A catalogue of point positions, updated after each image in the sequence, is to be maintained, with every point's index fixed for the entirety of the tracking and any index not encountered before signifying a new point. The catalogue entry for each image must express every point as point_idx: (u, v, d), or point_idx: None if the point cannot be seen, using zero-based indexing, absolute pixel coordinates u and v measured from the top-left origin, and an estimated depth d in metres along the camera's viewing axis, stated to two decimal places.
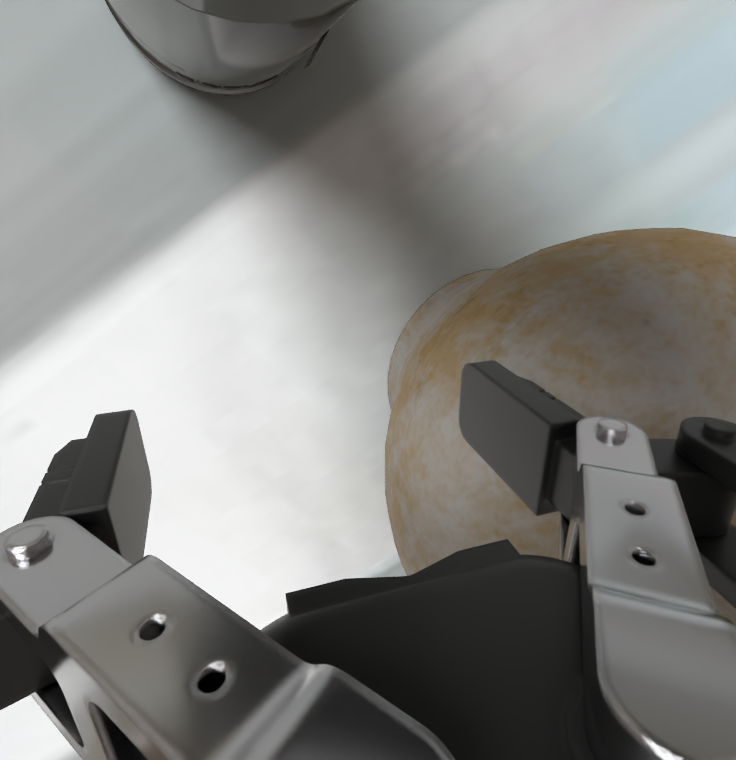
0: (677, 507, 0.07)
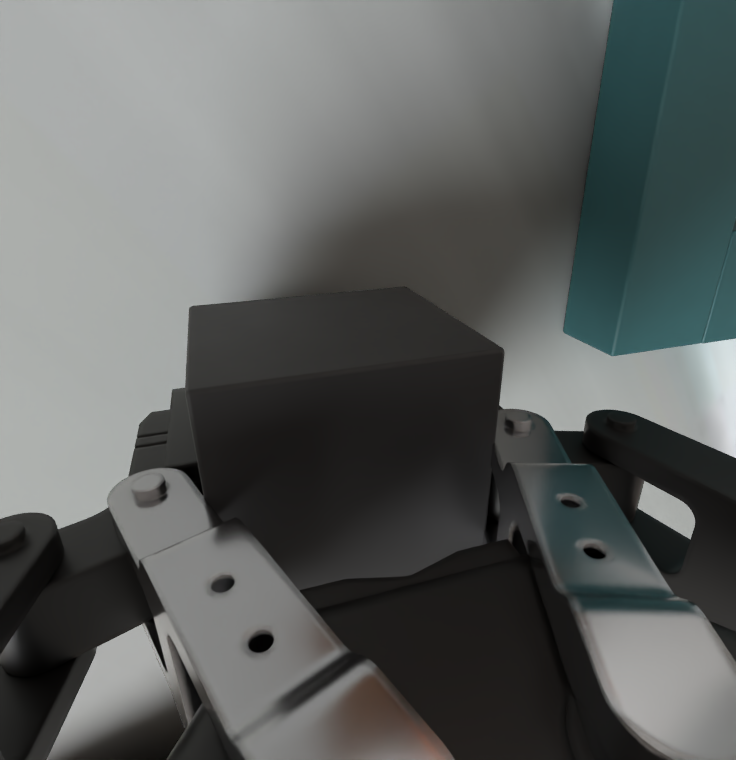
0: (604, 493, 0.07)
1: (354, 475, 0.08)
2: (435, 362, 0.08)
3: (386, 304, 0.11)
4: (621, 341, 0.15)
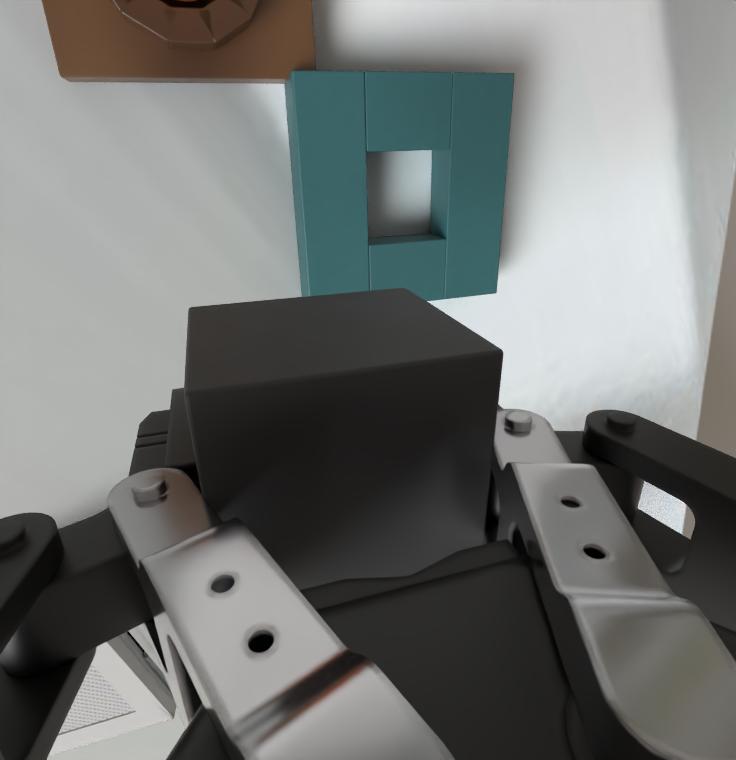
0: (604, 492, 0.07)
1: (353, 476, 0.08)
2: (434, 363, 0.08)
3: (385, 305, 0.11)
4: None
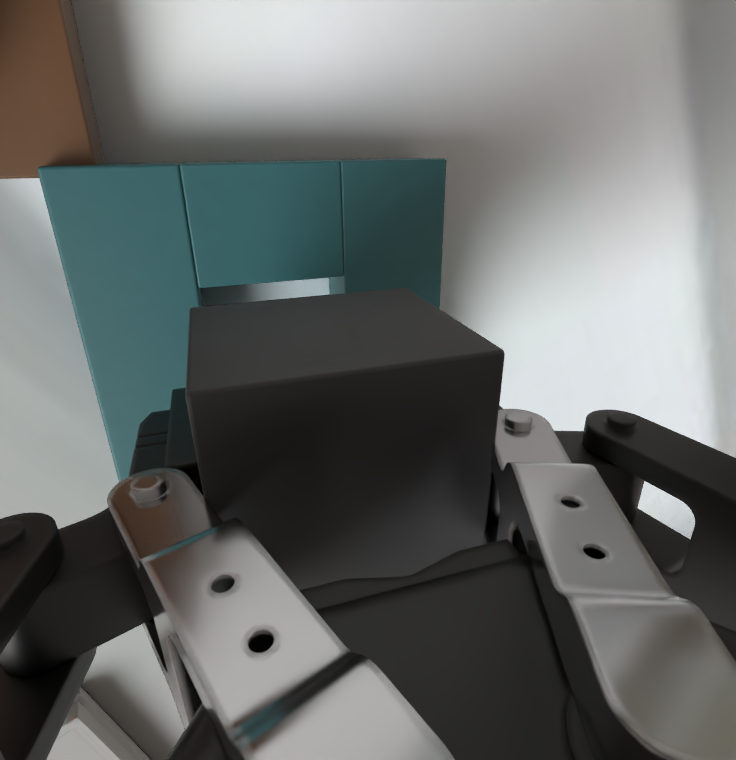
0: (604, 492, 0.07)
1: (354, 476, 0.08)
2: (436, 363, 0.08)
3: (385, 305, 0.11)
4: None
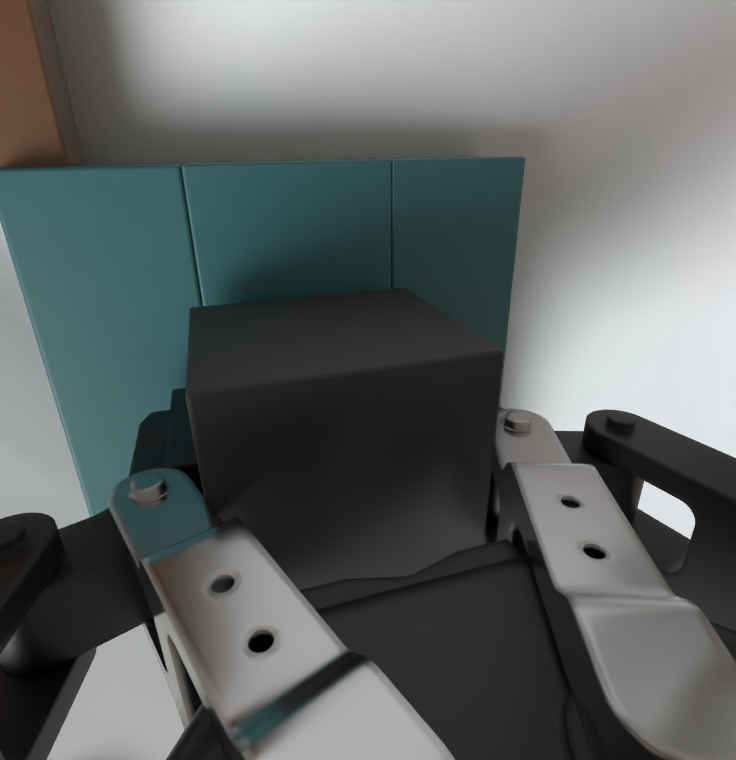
0: (604, 492, 0.07)
1: (354, 476, 0.08)
2: (436, 362, 0.08)
3: (386, 305, 0.11)
4: None
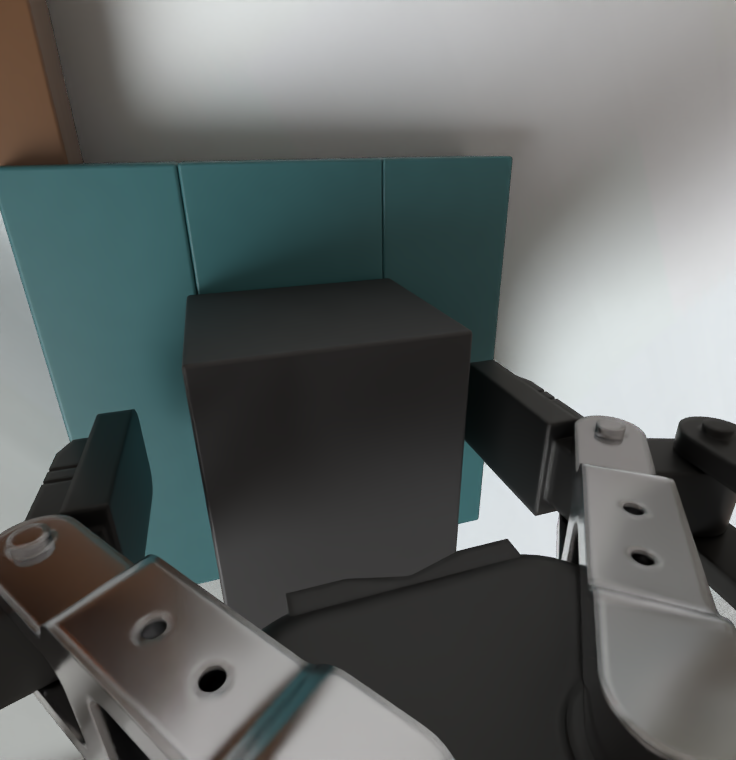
0: (676, 507, 0.07)
1: (335, 446, 0.09)
2: (408, 342, 0.09)
3: (369, 293, 0.11)
4: None
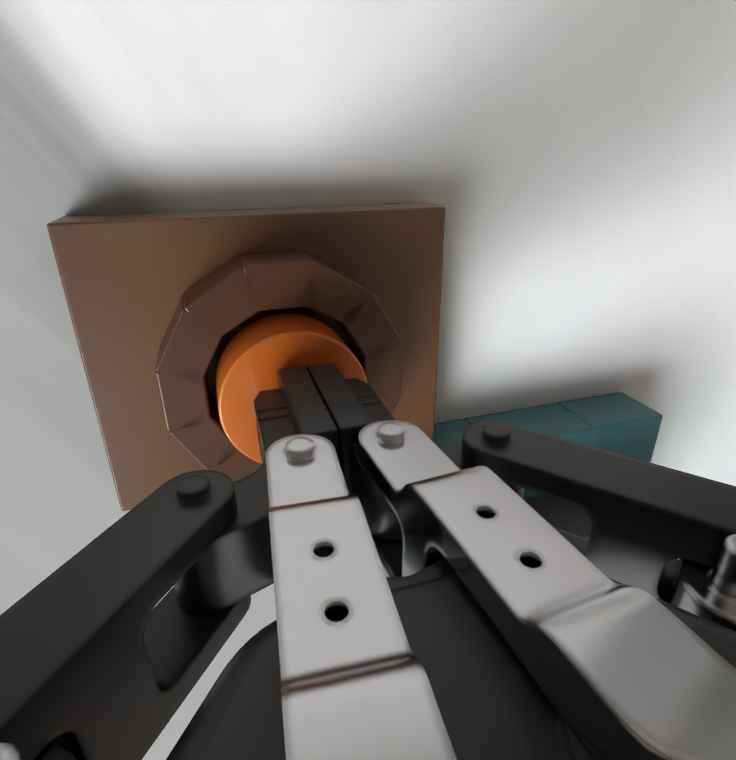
0: (509, 493, 0.07)
1: None
2: None
3: None
4: None
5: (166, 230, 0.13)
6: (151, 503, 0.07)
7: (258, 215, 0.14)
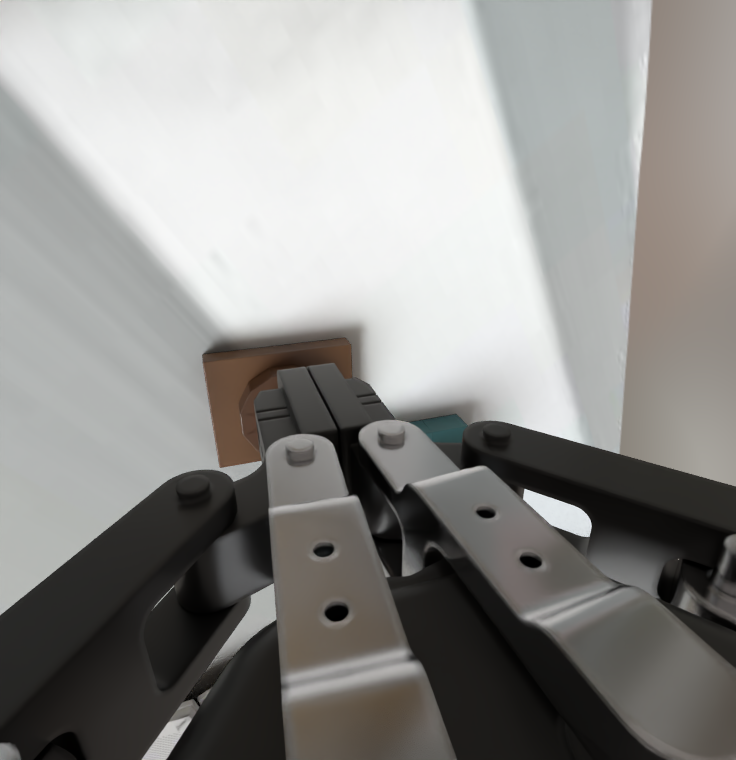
0: (509, 492, 0.07)
1: None
2: None
3: None
4: None
5: (243, 361, 0.37)
6: (151, 503, 0.08)
7: (276, 353, 0.37)
